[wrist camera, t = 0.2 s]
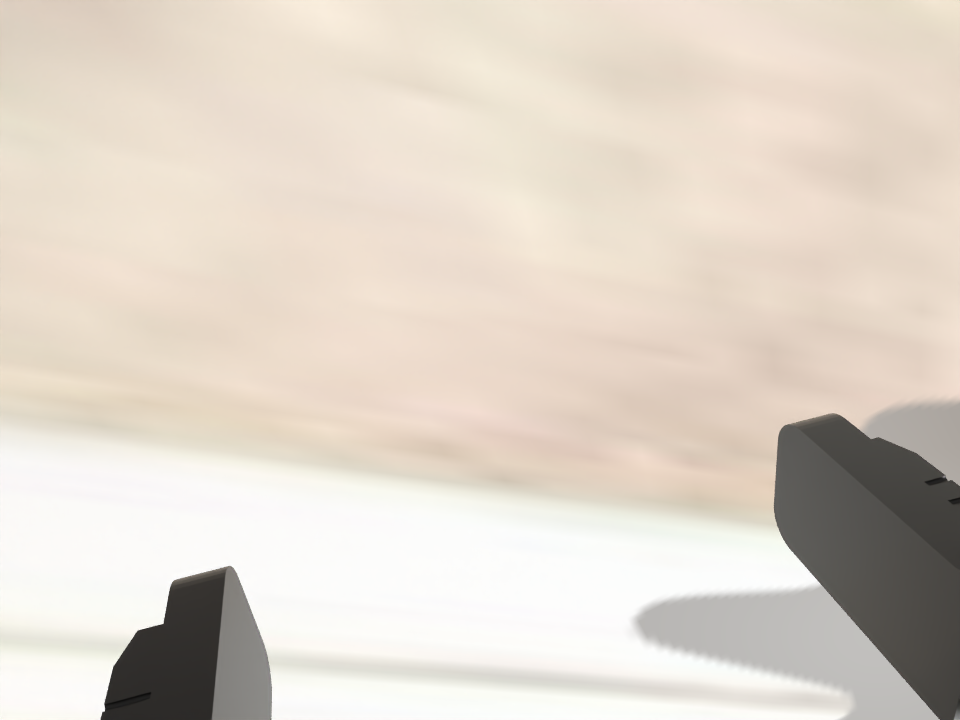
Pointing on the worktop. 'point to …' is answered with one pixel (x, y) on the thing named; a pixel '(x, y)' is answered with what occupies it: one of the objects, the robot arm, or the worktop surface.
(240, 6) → the worktop surface
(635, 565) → the worktop surface
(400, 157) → the worktop surface
